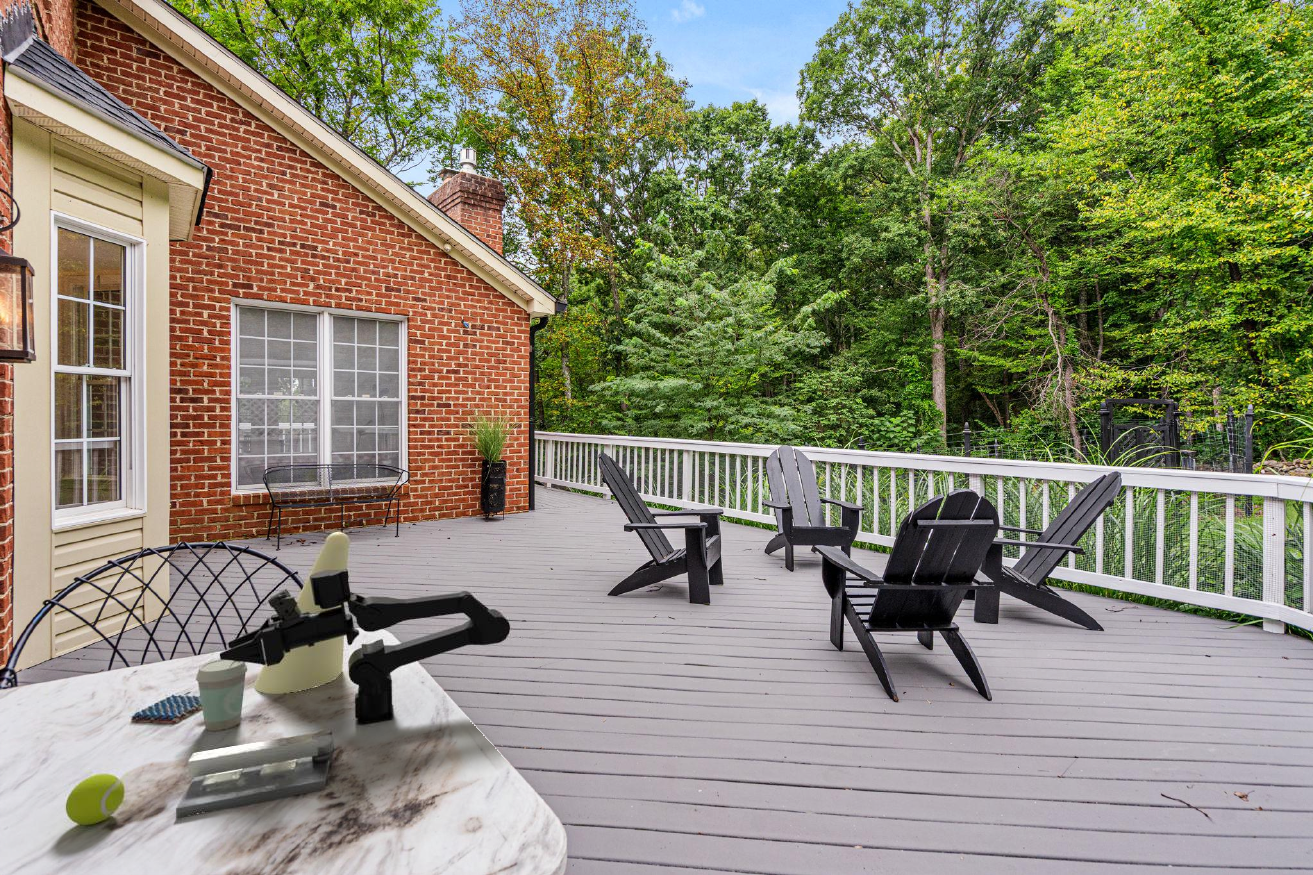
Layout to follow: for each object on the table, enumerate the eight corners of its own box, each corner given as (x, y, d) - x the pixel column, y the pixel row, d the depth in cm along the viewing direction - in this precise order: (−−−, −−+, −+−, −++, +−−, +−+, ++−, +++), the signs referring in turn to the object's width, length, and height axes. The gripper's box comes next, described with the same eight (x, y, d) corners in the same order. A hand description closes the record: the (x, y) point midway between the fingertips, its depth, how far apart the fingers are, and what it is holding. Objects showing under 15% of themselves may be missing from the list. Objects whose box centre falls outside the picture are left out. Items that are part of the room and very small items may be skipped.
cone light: (234, 686, 148) (231, 533, 148) (306, 659, 165) (303, 521, 165) (312, 703, 139) (308, 539, 138) (379, 673, 156) (376, 526, 155)
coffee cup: (223, 736, 125) (221, 673, 124) (185, 732, 126) (184, 670, 126) (258, 716, 133) (257, 658, 133) (223, 713, 135) (222, 655, 134)
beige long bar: (333, 744, 115) (333, 729, 115) (331, 753, 112) (331, 737, 112) (193, 768, 107) (193, 752, 107) (188, 778, 104) (187, 761, 104)
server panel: (336, 744, 121) (336, 730, 121) (328, 788, 106) (328, 773, 106) (204, 767, 113) (204, 752, 113) (176, 818, 98) (175, 801, 98)
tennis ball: (94, 807, 101) (93, 764, 101) (136, 807, 101) (135, 765, 101) (53, 834, 95) (52, 789, 95) (98, 835, 95) (97, 789, 94)
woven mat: (217, 703, 140) (216, 694, 140) (175, 726, 130) (175, 716, 130) (172, 702, 142) (172, 693, 141) (127, 724, 131) (127, 714, 131)
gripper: (313, 580, 136) (225, 599, 129) (308, 593, 119) (207, 616, 113) (322, 633, 136) (235, 655, 129) (319, 653, 119) (218, 680, 113)
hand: (224, 650), depth 121 cm, fingers open, 9 cm apart
